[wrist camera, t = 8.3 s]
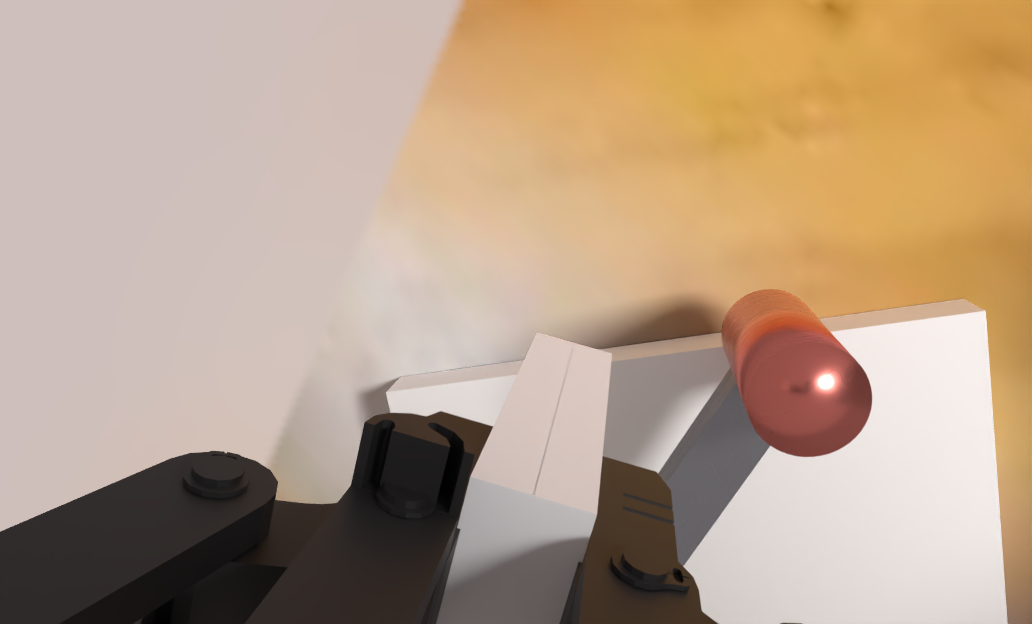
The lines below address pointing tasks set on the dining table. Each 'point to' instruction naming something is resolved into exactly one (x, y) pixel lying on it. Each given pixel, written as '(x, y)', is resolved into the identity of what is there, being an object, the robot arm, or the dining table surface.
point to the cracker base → (819, 474)
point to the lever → (764, 408)
